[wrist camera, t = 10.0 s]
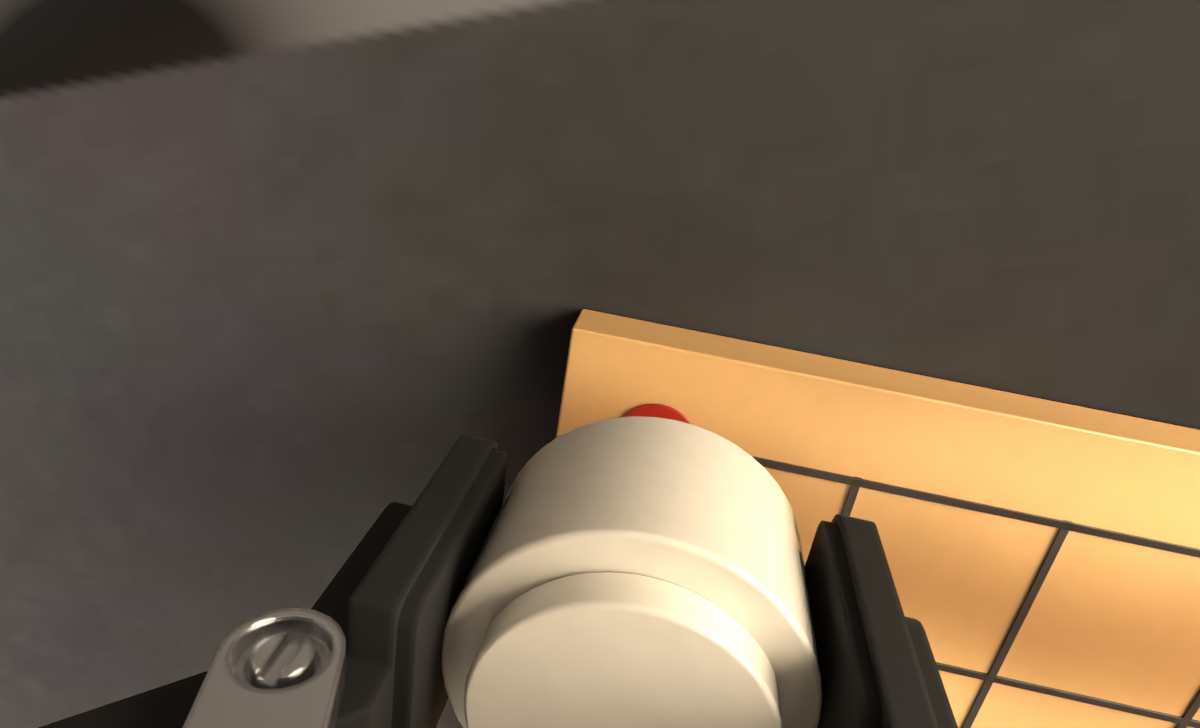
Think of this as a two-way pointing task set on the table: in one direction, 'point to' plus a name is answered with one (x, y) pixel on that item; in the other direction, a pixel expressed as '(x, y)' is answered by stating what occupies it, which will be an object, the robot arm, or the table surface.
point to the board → (957, 512)
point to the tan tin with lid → (637, 591)
